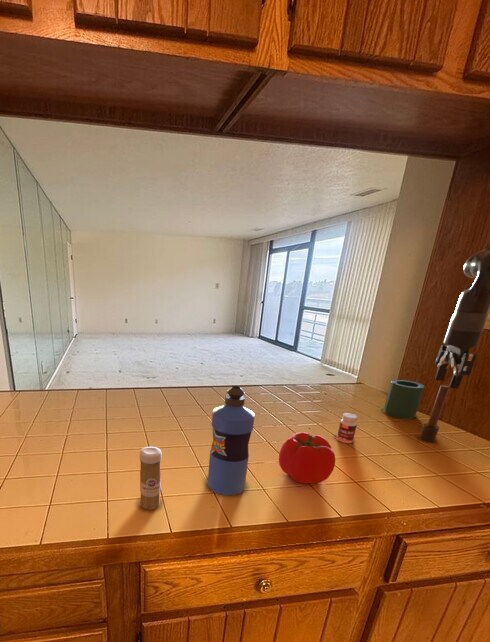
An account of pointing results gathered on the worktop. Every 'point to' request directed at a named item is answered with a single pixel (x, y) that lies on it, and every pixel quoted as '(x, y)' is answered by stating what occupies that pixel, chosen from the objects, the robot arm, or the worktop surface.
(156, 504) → the sprinkles bottle
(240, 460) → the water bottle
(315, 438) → the tomato
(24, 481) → the worktop surface
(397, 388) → the jar
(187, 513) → the worktop surface
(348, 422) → the pill bottle
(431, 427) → the brush
